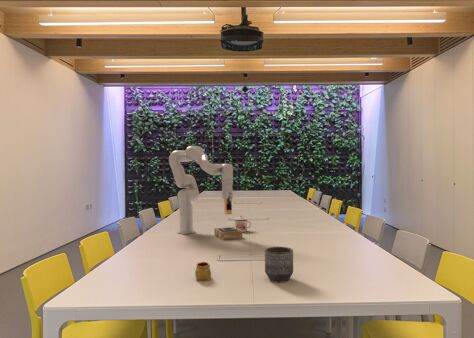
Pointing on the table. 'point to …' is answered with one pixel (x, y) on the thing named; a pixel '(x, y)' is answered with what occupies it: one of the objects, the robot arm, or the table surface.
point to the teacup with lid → (241, 223)
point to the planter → (279, 263)
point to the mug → (202, 271)
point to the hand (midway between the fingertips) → (227, 209)
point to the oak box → (228, 233)
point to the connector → (226, 207)
